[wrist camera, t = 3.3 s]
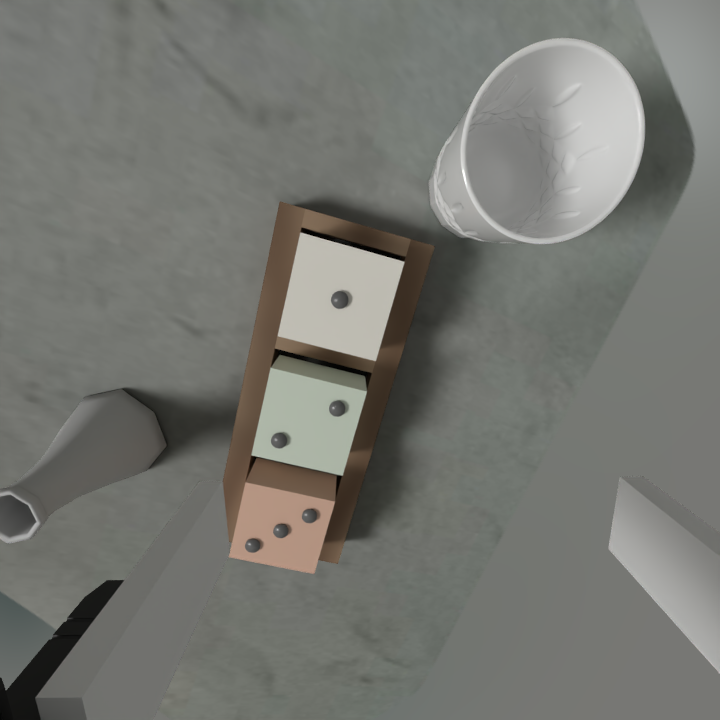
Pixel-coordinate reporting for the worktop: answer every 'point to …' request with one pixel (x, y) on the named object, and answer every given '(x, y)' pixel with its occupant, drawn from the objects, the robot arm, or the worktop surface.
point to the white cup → (541, 147)
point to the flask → (82, 460)
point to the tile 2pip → (309, 415)
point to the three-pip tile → (283, 516)
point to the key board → (322, 358)
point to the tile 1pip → (339, 297)
